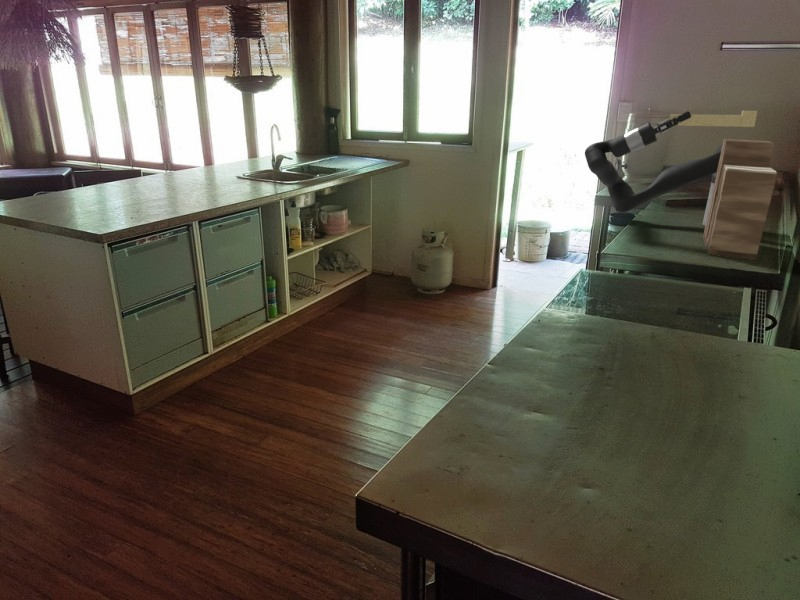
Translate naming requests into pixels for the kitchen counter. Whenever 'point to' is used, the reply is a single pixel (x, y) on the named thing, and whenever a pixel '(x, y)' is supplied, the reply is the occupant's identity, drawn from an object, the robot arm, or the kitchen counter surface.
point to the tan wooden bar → (720, 120)
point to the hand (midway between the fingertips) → (689, 114)
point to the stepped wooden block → (740, 199)
